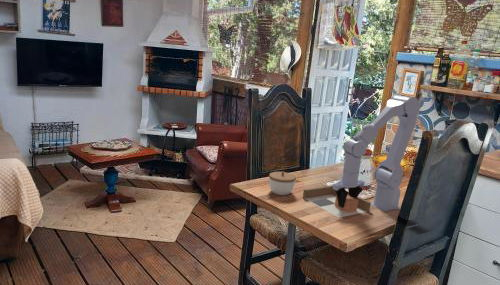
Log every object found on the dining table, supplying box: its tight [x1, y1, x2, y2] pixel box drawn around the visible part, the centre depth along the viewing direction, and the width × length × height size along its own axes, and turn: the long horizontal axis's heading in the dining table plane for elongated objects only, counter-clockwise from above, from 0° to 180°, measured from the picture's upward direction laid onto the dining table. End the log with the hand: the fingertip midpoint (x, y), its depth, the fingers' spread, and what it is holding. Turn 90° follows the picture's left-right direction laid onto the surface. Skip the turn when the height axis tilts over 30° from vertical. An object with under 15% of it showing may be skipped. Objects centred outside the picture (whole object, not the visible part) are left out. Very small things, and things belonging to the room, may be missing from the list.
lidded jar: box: [268, 171, 297, 196], centre depth 152 cm, size 11×11×9 cm
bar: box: [335, 195, 358, 213], centre depth 142 cm, size 7×4×4 cm, turn 31°
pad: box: [310, 199, 335, 208], centre depth 146 cm, size 8×6×1 cm
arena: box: [302, 184, 372, 219], centre depth 145 cm, size 16×20×4 cm
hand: (345, 205), depth 142 cm, fingers open, 5 cm apart
